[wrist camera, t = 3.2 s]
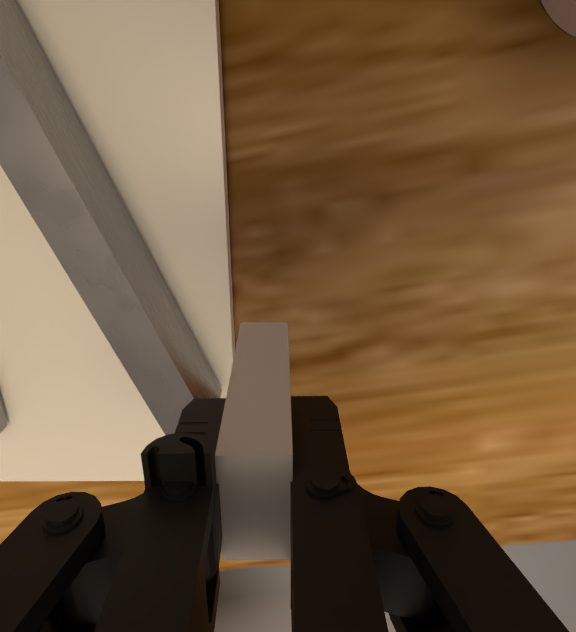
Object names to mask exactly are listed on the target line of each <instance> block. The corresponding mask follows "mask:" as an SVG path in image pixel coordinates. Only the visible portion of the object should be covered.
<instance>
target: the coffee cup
mask: <svg viewBox="0 0 576 632" xmlns="http://www.w3.org/2000/svg"><path fill="white" fill-rule="evenodd" d="M541 2H542V4H543V6H544V8H545V10H546V12H547V13H548V15H549V16H550V18H551V19H552V20H553V21H554V22H555V23H556V24H557V25H558V26H559V27H560V28H561V29H562V30H564V31H565V32H567V33H568V34H570V35H572V36H575V37H576V0H541Z"/></svg>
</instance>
